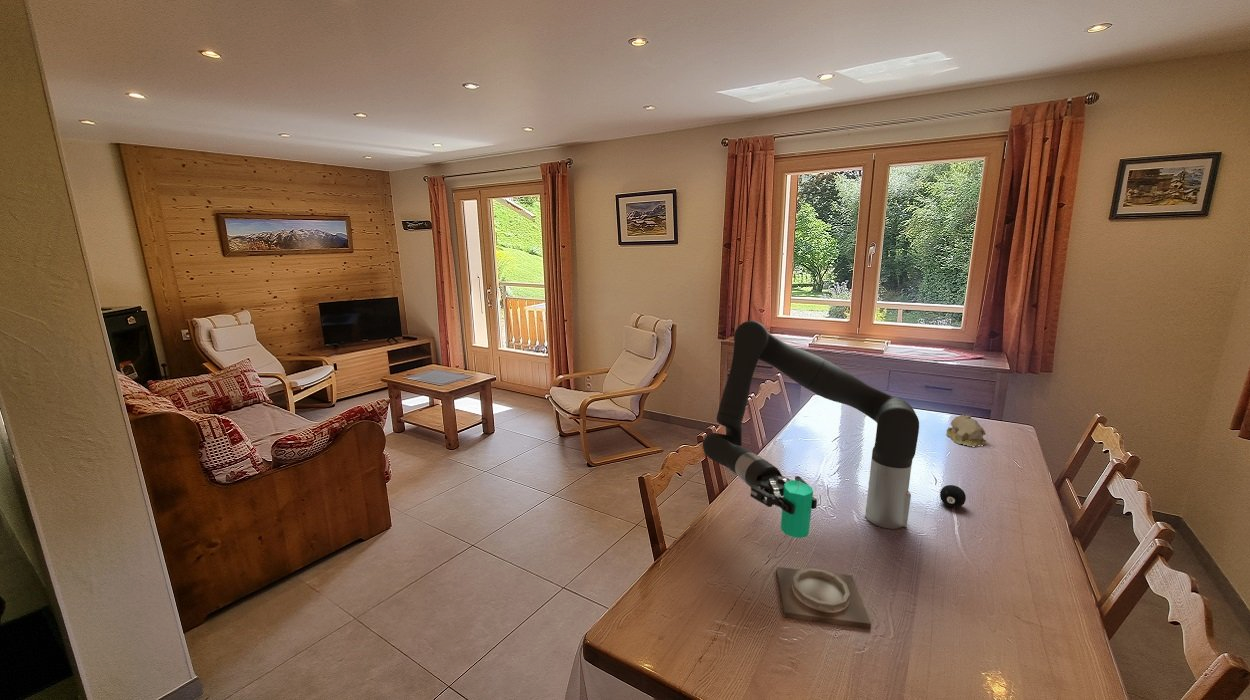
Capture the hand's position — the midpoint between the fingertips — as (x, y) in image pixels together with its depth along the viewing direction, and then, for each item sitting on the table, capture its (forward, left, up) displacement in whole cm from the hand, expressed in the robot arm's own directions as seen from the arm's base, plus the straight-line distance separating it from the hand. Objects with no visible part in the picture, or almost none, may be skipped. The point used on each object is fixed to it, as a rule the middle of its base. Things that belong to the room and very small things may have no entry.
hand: (804, 507), depth 102 cm
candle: (+1, -2, -7) cm, 8 cm away
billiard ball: (-47, -40, -18) cm, 64 cm away
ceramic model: (-74, -92, -18) cm, 120 cm away
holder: (-3, +5, -18) cm, 19 cm away
